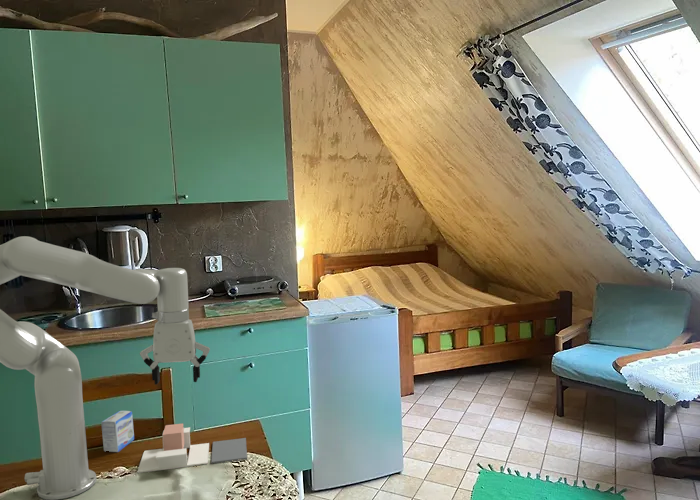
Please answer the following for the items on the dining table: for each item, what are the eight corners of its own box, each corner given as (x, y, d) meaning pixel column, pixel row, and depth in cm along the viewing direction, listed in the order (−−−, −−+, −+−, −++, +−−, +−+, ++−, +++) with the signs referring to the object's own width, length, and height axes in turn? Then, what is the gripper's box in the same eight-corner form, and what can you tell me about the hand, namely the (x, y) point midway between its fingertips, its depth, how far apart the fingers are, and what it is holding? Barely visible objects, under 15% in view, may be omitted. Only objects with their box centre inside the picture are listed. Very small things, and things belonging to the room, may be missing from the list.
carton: (135, 477, 135) (134, 460, 135) (145, 448, 151) (144, 432, 151) (207, 468, 139) (206, 451, 138) (209, 440, 155) (208, 425, 154)
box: (164, 464, 141) (162, 434, 141) (167, 454, 147) (165, 425, 146) (183, 462, 142) (181, 432, 142) (185, 452, 148) (183, 423, 147)
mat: (211, 463, 141) (211, 462, 141) (212, 443, 153) (212, 441, 153) (247, 459, 143) (247, 457, 143) (245, 439, 155) (245, 437, 154)
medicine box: (117, 453, 149) (115, 422, 148) (103, 451, 150) (100, 421, 149) (134, 440, 157) (132, 410, 156) (120, 439, 157) (118, 409, 157)
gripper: (134, 321, 136) (138, 388, 137) (206, 318, 138) (209, 384, 140) (141, 315, 143) (145, 379, 145) (210, 312, 146) (212, 375, 147)
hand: (176, 381), depth 142 cm, fingers open, 9 cm apart
